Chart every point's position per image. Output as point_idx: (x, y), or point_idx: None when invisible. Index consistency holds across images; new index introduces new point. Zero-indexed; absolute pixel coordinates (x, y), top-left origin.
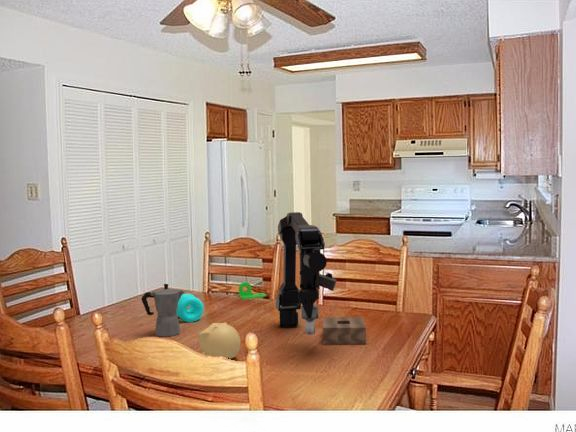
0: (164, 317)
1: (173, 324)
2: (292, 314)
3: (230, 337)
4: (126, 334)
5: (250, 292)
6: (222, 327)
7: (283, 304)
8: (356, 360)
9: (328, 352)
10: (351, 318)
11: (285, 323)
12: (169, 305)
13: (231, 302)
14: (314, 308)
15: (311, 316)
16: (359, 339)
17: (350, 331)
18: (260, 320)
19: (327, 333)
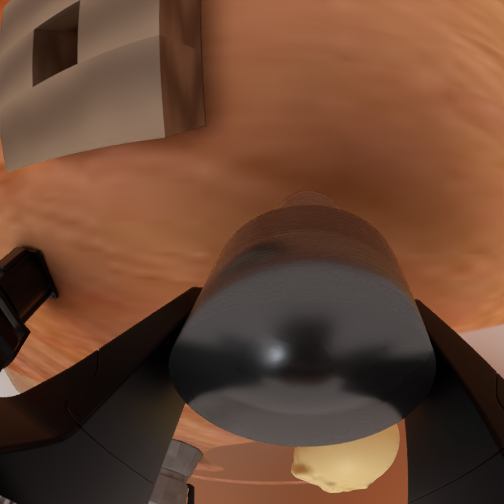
0: (187, 476)
1: (183, 460)
2: (14, 283)
3: (390, 453)
4: (200, 466)
5: None
6: (368, 481)
7: (15, 338)
8: (457, 9)
9: (351, 98)
10: (9, 39)
11: (43, 287)
12: (180, 492)
13: None
14: (433, 351)
15: (427, 308)
16: None
17: None
18: (38, 326)
19: (179, 103)
